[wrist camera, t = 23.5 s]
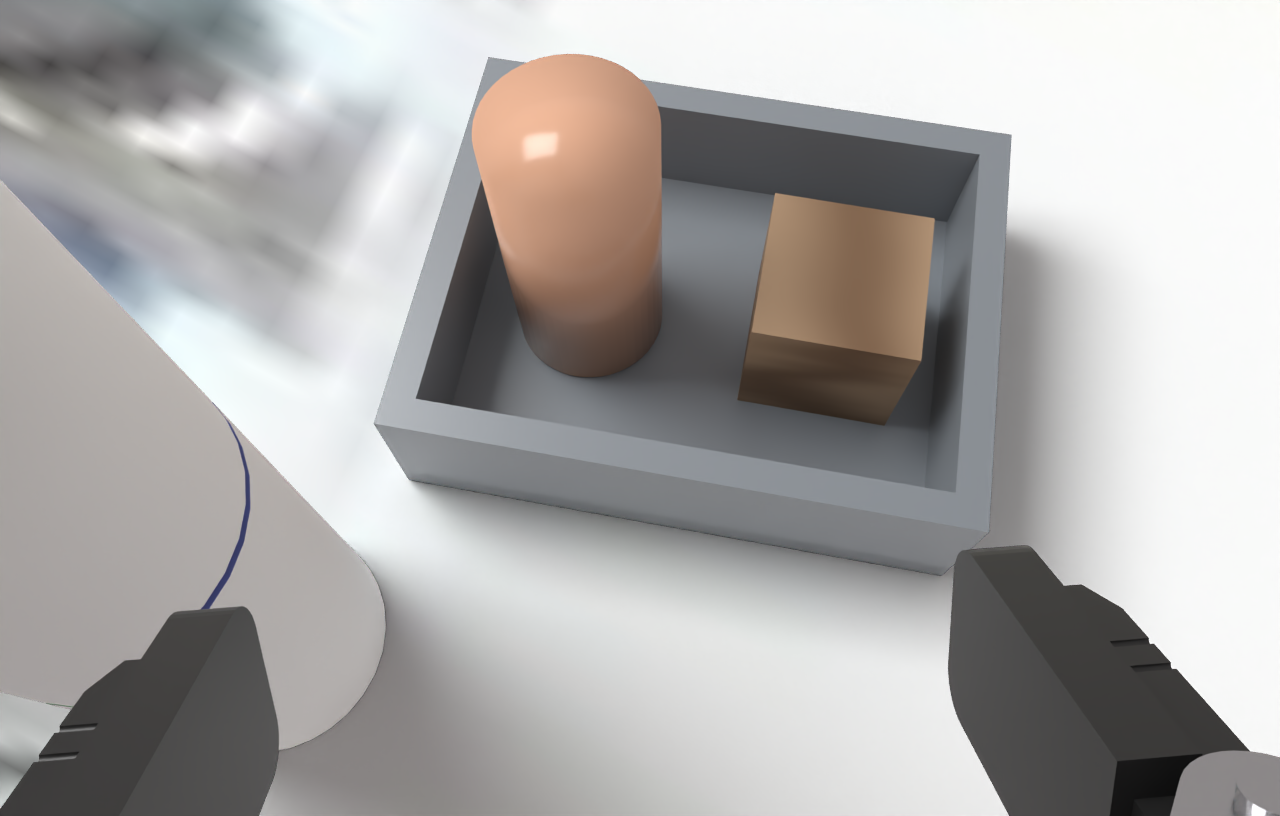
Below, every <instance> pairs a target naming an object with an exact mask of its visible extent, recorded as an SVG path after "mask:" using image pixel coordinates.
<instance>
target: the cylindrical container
mask: <svg viewBox="0 0 1280 816" xmlns="http://www.w3.org/2000/svg"><path fill="white" fill-rule="evenodd" d="M238 606H244V607H246V608H247V609H248V610H249V611H250V613H251V614H252V616H253V619H254V622H255V625H256V629H257V633H258V638H259V642H260V646H261V651H262V655H263V659H264V664H265V668H266V672H267V677H268V681H269V685H270V689H271V694H272V698H273V702H274V707H275V711H276V715H277V721H278V728H279V750H283V749H289V748H292V747H294V746H297V745H299V744H302V743H305V742H307V741H310V740H312V739H314V738H315V737H317V736H319V735H320V734H322V733H324V732H325V731H327V730H329V729H330V728H332V727H333V726H334V725H335V724H336V723H337V722H339V721H340V720H341V719H342V718H343V717H344V716H346V715H347V714H348V713H349V712H350V710H351V709H352V708H353V707H354V706H355V704H356V703H357V702H358V701H359V699H360V698H361V697H362V696H363V695H364V693H365V691H366V689H367V687H368V686H369V684H370V682H371V680H372V679H373V677H374V675H375V673H376V670H377V667H378V664H379V661H380V658H381V655H382V652H383V647H384V639H385V632H386V620H385V607H384V602H383V599H382V596H381V592H380V589H379V585H378V584H377V582H376V580H375V578H374V576H373V574H372V572H371V570H370V569H369V568H368V566H367V565H366V564H365V563H364V561H363V560H362V559H361V558H360V557H359V555H358V554H357V553H356V552H355V551H354V550H353V549H352V548H351V547H350V546H349V545H348V544H347V543H346V542H345V541H344V540H343V539H342V538H341V537H340V535H339V534H338V533H337V532H336V531H335V530H334V529H333V528H332V527H331V526H330V525H329V524H328V523H327V522H326V521H325V520H324V519H323V518H322V517H321V516H320V515H319V514H318V512H317V511H316V510H315V509H314V508H313V507H312V506H311V505H310V504H309V503H308V502H307V501H306V500H305V499H304V498H303V497H302V496H301V495H300V494H299V493H298V492H297V491H296V489H295V488H294V487H293V486H292V485H291V484H290V483H289V482H288V481H287V480H286V479H285V478H284V477H283V476H282V475H281V474H280V473H279V472H278V471H277V469H276V468H275V467H274V466H273V465H272V464H271V463H270V462H269V461H268V460H267V459H266V458H265V457H264V456H263V455H262V454H261V453H260V452H259V451H258V449H257V448H256V447H255V446H254V445H253V444H252V443H251V442H250V441H249V440H248V439H247V438H246V437H245V436H244V435H243V434H242V433H241V432H240V431H239V429H238V428H237V427H236V426H235V425H234V424H233V423H232V422H231V421H230V420H229V419H228V418H227V417H226V416H225V415H224V414H223V413H222V412H221V411H220V409H219V408H218V407H217V406H216V405H215V404H214V403H213V402H211V400H210V399H209V398H208V397H207V396H206V395H205V394H204V393H203V392H202V391H201V390H200V389H199V387H198V386H197V385H196V384H195V383H194V382H193V381H192V380H191V379H190V378H189V377H188V376H187V375H186V374H185V373H184V372H183V371H182V370H181V369H180V368H179V367H178V365H177V364H176V363H175V362H174V361H173V360H172V359H171V358H170V357H169V356H168V355H167V354H166V353H165V352H164V351H163V350H162V349H161V348H160V347H159V346H158V345H157V344H156V342H155V341H154V340H153V339H152V338H151V337H150V336H149V335H148V334H147V333H146V332H145V331H144V330H143V329H142V328H141V327H140V326H139V325H138V324H137V323H136V322H135V320H134V319H133V318H132V317H131V316H130V315H129V314H128V313H127V312H126V311H125V310H124V309H123V308H122V307H121V306H120V305H119V304H118V303H117V302H116V301H115V300H114V298H113V297H112V296H111V295H110V294H109V293H108V292H107V291H106V290H105V289H104V288H103V287H102V286H101V285H100V284H99V283H98V282H97V281H96V280H95V279H94V278H93V277H92V275H91V274H90V273H89V272H88V271H87V270H86V269H85V268H84V267H83V266H82V265H81V264H80V263H79V262H78V261H77V260H76V259H75V258H74V257H73V256H72V255H71V253H70V252H69V251H68V250H67V249H66V248H65V247H64V246H63V245H62V244H61V243H60V242H59V241H58V240H57V239H56V238H55V237H54V236H53V235H52V234H51V233H50V231H49V230H48V229H47V228H46V227H45V226H44V225H43V224H42V223H41V222H40V221H39V220H38V219H37V218H36V217H35V216H34V215H33V214H32V213H31V211H30V210H29V209H28V208H27V207H26V206H25V205H24V204H23V203H22V202H21V201H20V200H19V199H18V198H17V197H16V196H15V195H14V194H13V193H12V192H11V190H10V189H9V188H8V187H7V186H6V185H5V184H4V183H3V182H2V181H1V180H0V692H2V693H6V694H10V695H14V696H18V697H22V698H26V699H30V700H34V701H38V702H42V703H46V704H50V705H54V706H58V707H62V708H66V709H70V710H71V709H72V708H73V707H74V705H75V704H76V702H77V701H78V700H79V698H80V697H81V695H82V694H83V693H84V691H86V690H87V689H88V688H90V687H91V686H92V685H94V684H95V683H96V682H97V681H99V680H100V679H101V678H103V677H104V676H105V675H106V674H108V673H109V672H110V671H112V670H113V669H114V668H116V667H117V666H118V665H119V664H121V663H122V662H123V661H125V660H137V659H141V658H142V657H143V655H144V654H145V652H146V651H147V649H148V648H149V646H150V645H151V643H152V642H153V640H154V639H155V637H156V636H157V634H158V633H159V631H160V630H161V628H162V626H163V625H164V623H165V622H166V620H167V619H168V618H169V616H170V615H171V614H173V613H174V612H177V611H188V610H200V609H213V608H225V607H238Z"/></svg>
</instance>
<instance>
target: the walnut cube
mask: <svg viewBox="0 0 1280 816" xmlns="http://www.w3.org/2000/svg"><path fill="white" fill-rule="evenodd" d="M934 222H935V218H929V217H923V216H916V215H910V214H904V213H898V212H891V211H885V210H879V209H872V208H866V207H860V206H854V205H847V204H841V203H835V202H828V201H822V200H816V199H810V198H803V197H797V196H791V195H785V194H778V193H775V196H774V201H773V206H772V211H771V216H770V221H769V226H768V230H767V235H766V240H765V245H764V250H763V255H762V260H761V265H760V270H759V275H758V281H757V286H756V292H755V298H754V304H753V310H752V316H751V322H750V328H749V333H748V339H747V345H746V351H745V357H744V363H743V369H742V375H741V380H740V386H739V392H738V398H737V400H740V401H745V402H751V403H757V404H762V405H768V406H774V407H780V408H785V409H791V410H797V411H802V412H808V413H814V414H820V415H825V416H831V417H837V418H842V419H848V420H854V421H860V422H865V423H871V424H877V425H882V426H884V425H885V424H886V422H887V420H888V418H889V417H890V415H891V413H892V411H893V410H894V408H895V406H896V404H897V403H898V401H899V399H900V397H901V396H902V394H903V392H904V390H905V389H906V387H907V385H908V383H909V382H910V380H911V378H912V376H913V375H914V373H915V371H916V369H917V368H918V366H919V364H920V362H921V359H922V349H923V338H924V328H925V317H926V307H927V296H928V286H929V275H930V264H931V254H932V243H933V233H934Z"/></svg>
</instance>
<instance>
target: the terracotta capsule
mask: <svg viewBox="0 0 1280 816" xmlns="http://www.w3.org/2000/svg"><path fill="white" fill-rule="evenodd" d="M472 143H473V149H474V153H475V157H476V160H477V164H478V168H479V171H480V175H481V179H482V183H483V186H484V190H485V194H486V198H487V201H488V205H489V209H490V212H491V216H492V220H493V224H494V227H495V231H496V235H497V238H498V242H499V246H500V250H501V253H502V257H503V261H504V265H505V268H506V272H507V276H508V279H509V283H510V287H511V291H512V294H513V298H514V302H515V305H516V309H517V313H518V317H519V320H520V324H521V328H522V331H523V334H524V337H525V340H526V342H527V343H528V345H529V347H530V348H531V350H532V351H533V352H534V354H535V355H536V356H537V357H538V358H539V359H540V360H541V361H543V362H544V363H545V364H547V365H548V366H550V367H551V368H553V369H555V370H557V371H560V372H562V373H565V374H568V375H572V376H578V377H601V376H606V375H611V374H614V373H617V372H620V371H622V370H624V369H626V368H628V367H630V366H631V365H633V364H634V363H636V362H637V361H638V360H639V359H641V358H642V357H643V356H644V355H645V354H646V353H647V352H648V351H649V349H650V348H651V346H652V345H653V344H654V342H655V340H656V338H657V336H658V334H659V331H660V328H661V323H662V173H661V119H660V113H659V109H658V106H657V103H656V101H655V99H654V97H653V95H652V94H651V92H650V91H649V89H648V88H647V87H646V85H645V84H644V83H643V82H642V81H641V80H640V79H639V78H638V77H636V76H635V75H634V74H633V73H632V72H630V71H628V70H627V69H625V68H624V67H622V66H620V65H618V64H616V63H614V62H611V61H608V60H605V59H603V58H599V57H594V56H589V55H581V54H562V55H553V56H548V57H543V58H539V59H536V60H532V61H530V62H527V63H525V64H523V65H520V66H519V67H517V68H515V69H513V70H511V71H510V72H508V73H507V74H505V75H504V76H503V77H501V78H500V79H499V80H498V81H497V82H496V83H495V84H493V86H492V87H491V88H490V89H489V90H488V91H487V92H486V94H485V95H484V97H483V98H482V100H481V101H480V103H479V106H478V108H477V110H476V112H475V116H474V119H473V125H472Z"/></svg>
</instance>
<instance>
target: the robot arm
mask: <svg viewBox="0 0 1280 816" xmlns="http://www.w3.org/2000/svg"><path fill="white" fill-rule="evenodd" d="M948 675H949V685H950V691H951V696H952V701H953V705H954V708H955V711H956V714H957V717H958V719H959V721H960V723H961V725H962V727H963V729H964V731H965V733H966V735H967V737H968V739H969V740H970V742H971V744H972V746H973V748H974V750H975V752H976V754H977V756H978V757H979V759H980V761H981V763H982V765H983V767H984V769H985V771H986V773H987V775H988V776H989V778H990V780H991V782H992V784H993V786H994V788H995V790H996V792H997V793H998V795H999V797H1000V799H1001V801H1002V803H1003V805H1004V807H1005V809H1006V810H1007V812H1008V814H1009V816H1280V757H1276V756H1272V755H1268V754H1263V753H1257V752H1250V751H1249V750H1248V749H1247V747H1246V746H1245V745H1244V744H1243V743H1242V742H1241V741H1240V740H1239V739H1238V737H1237V736H1236V735H1235V734H1234V733H1233V732H1232V731H1231V730H1230V728H1229V727H1228V726H1227V725H1226V724H1225V723H1224V722H1223V721H1222V720H1221V718H1220V717H1219V716H1218V715H1217V714H1216V713H1215V712H1214V711H1213V709H1212V708H1211V707H1210V706H1209V705H1208V704H1207V703H1206V702H1205V700H1204V699H1203V698H1202V697H1201V696H1200V695H1199V694H1198V693H1197V692H1196V690H1195V689H1194V688H1193V687H1192V686H1191V685H1190V684H1189V683H1188V681H1187V680H1186V679H1185V678H1184V677H1183V676H1182V675H1181V674H1180V673H1179V671H1178V670H1177V669H1172V668H1171V662H1170V661H1169V660H1168V659H1167V658H1166V657H1165V656H1164V655H1163V653H1162V652H1161V651H1160V650H1159V649H1158V648H1157V647H1156V646H1155V645H1154V644H1150V643H1149V638H1148V637H1147V636H1146V634H1145V633H1144V632H1143V631H1142V630H1141V629H1140V628H1139V627H1138V626H1137V624H1136V623H1135V622H1134V621H1133V620H1132V619H1131V618H1130V617H1129V615H1128V614H1127V613H1126V612H1125V611H1124V610H1123V609H1122V608H1121V607H1119V606H1117V605H1116V604H1114V603H1112V602H1110V601H1109V600H1107V599H1105V598H1104V597H1102V596H1100V595H1098V594H1097V593H1095V592H1093V591H1092V590H1090V589H1088V588H1086V587H1085V586H1083V585H1069V586H1063V584H1062V583H1061V582H1060V581H1059V580H1058V578H1057V577H1056V576H1055V575H1054V574H1053V572H1052V571H1051V570H1050V569H1049V568H1048V566H1047V565H1046V564H1045V563H1044V562H1043V560H1042V559H1041V558H1040V557H1039V556H1038V554H1037V553H1036V552H1035V551H1034V550H1033V549H1032V548H1031V547H1029V546H1027V545H1021V546H1008V547H996V548H983V549H971V550H962V551H961V552H959V554H958V556H957V558H956V561H955V566H954V579H953V595H952V611H951V627H950V643H949V660H948ZM278 753H279V728H278V721H277V715H276V711H275V707H274V702H273V698H272V694H271V689H270V685H269V681H268V677H267V672H266V668H265V664H264V659H263V655H262V651H261V646H260V642H259V638H258V633H257V629H256V625H255V622H254V619H253V616H252V614H251V613H250V611H249V610H248V609H247V608H246V607H244V606H238V607H225V608H213V609H200V610H188V611H177V612H174V613H173V614H171V615H170V616H169V618H168V619H167V620H166V622H165V623H164V625H163V626H162V628H161V630H160V631H159V633H158V634H157V636H156V637H155V639H154V640H153V642H152V643H151V645H150V646H149V648H148V649H147V651H146V652H145V654H144V655H143V657H142V658H141V659H137V660H125V661H123V662H122V663H121V664H119V665H118V666H117V667H116V668H114V669H113V670H112V671H110V672H109V673H108V674H106V675H105V676H104V677H103V678H101V679H100V680H99V681H97V682H96V683H95V684H94V685H92V686H91V687H90V688H88V689H87V690H86V691H84V693H83V694H82V695H81V697H80V698H79V700H78V701H77V702H76V704H75V705H74V707H73V708H72V709H71V711H70V712H69V714H68V715H67V716H66V718H65V719H64V721H63V722H62V723H61V725H60V732H59V733H54V735H53V736H52V737H51V739H50V740H49V742H48V743H47V744H46V746H45V747H44V749H43V750H42V751H41V753H40V754H39V762H34V763H33V764H32V765H31V767H30V768H29V770H28V771H27V772H26V774H25V775H24V777H23V778H22V779H21V781H20V782H19V784H18V785H17V786H16V788H15V789H14V791H13V792H12V793H11V795H10V796H9V798H8V799H7V800H6V802H5V803H4V805H3V806H2V807H1V809H0V816H259V814H260V812H261V809H262V806H263V804H264V801H265V799H266V796H267V794H268V791H269V789H270V786H271V783H272V781H273V778H274V775H275V771H276V767H277V761H278Z"/></svg>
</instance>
